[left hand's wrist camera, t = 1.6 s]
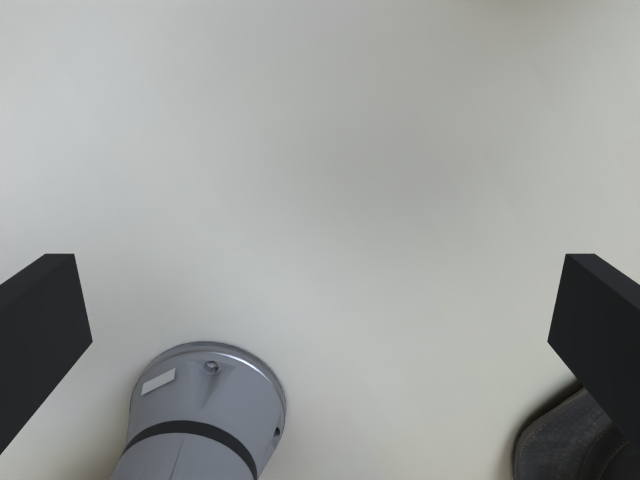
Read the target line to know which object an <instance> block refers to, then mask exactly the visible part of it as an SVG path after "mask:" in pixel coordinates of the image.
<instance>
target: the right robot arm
mask: <svg viewBox="0 0 640 480" xmlns="http://www.w3.org/2000/svg"><path fill="white" fill-rule="evenodd" d="M285 413H286V402H285V396H284V392H283V389H282V387H281V385H280V383H279V381H278V379H277V378H276V376H275V375H274V373H273V372H272V371H271V370H270V369H269V368H268V367H267V366H266V365H265V364H264V363H263V362H262V361H261V360H259V359H258V358H256V357H255V356H253V355H252V354H250V353H248V352H246V351H244V350H242V349H239V348H237V347H234V346H230V345H227V344H222V343H215V342H194V343H188V344H184V345H180V346H177V347H174V348H172V349H170V350H167V351H165V352H164V353H162V354H160V355H159V356H158V357H156V358H155V359H154V360H153V361H152V362H151V363H150V364H149V365H148V366H147V368H146V369H145V370H144V372H143V374H142V375H141V377H140V379H139V380H138V382H137V384H136V386H135V388H134V390H133V393H132V396H131V401H130V417H129V425H128V433H127V442H126V448H125V450H124V451H123V453H122V455H121V457H120V459H119V461H118V463H117V465H116V467H115V469H114V471H113V473H112V475H111V477H110V479H109V480H258V478H259V476H260V475H261V473H262V471H263V469H264V468H265V466H266V464H267V462H268V461H269V459H270V457H271V455H272V454H273V452H274V450H275V448H276V446H277V444H278V442H279V440H280V439H281V436H282V433H283V429H284V423H285Z"/></svg>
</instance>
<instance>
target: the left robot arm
mask: <svg viewBox="0 0 640 480" xmlns="http://www.w3.org/2000/svg"><path fill="white" fill-rule="evenodd" d="M92 342H93V341H92V336H91V331H90V327H89V322H88V317H87V312H86V308H85V303H84V298H83V293H82V289H81V284H80V279H79V274H78V270H77V265H76V260H75V256H74V254H44V255H43V256H41V257H40V258H39V259H37V260H36V261H34V262H33V263H31V264H30V265H28V266H27V267H26V268H24V269H23V270H21V271H20V272H18V273H17V274H15V275H14V276H13V277H11V278H10V279H8V280H7V281H5V282H4V283H2V284H1V285H0V455H1V453H2V452H3V451H4V450H5V449H6V447H7V446H8V445H9V444H10V442H11V441H12V440H13V439H14V438H15V436H16V435H17V434H18V433H19V431H20V430H21V429H22V428H23V426H24V425H25V424H26V423H27V422H28V420H29V419H30V418H31V417H32V415H33V414H34V413H35V412H36V411H37V409H38V408H39V407H40V406H41V404H42V403H43V402H44V401H45V400H46V398H47V397H48V396H49V395H50V393H51V392H52V391H53V390H54V389H55V387H56V386H57V385H58V384H59V382H60V381H61V380H62V379H63V378H64V376H65V375H66V374H67V373H68V371H69V370H70V369H71V368H72V366H73V365H74V364H75V363H76V362H77V360H78V359H79V358H80V357H81V355H82V354H83V353H84V352H85V351H86V349H87V348H88V347H89V346H90V344H91V343H92ZM547 342H548V343H549V344H550V346H551V347H552V348H553V349H554V351H555V352H556V353H557V354H558V355H559V357H560V358H561V359H562V360H563V362H564V363H565V364H566V365H567V366H568V368H569V369H570V370H571V371H572V373H573V374H574V375H575V376H576V378H577V379H578V380H579V381H580V382H581V384H582V385H583V386H584V387H585V389H586V390H587V391H588V392H589V393H590V395H591V396H592V397H593V398H594V400H595V401H596V402H597V403H598V404H599V406H600V407H601V408H602V409H603V411H604V412H605V413H606V414H607V415H608V417H609V418H610V419H611V420H612V422H613V423H614V424H615V425H616V426H617V428H618V429H619V430H620V431H621V433H622V434H623V435H624V436H625V438H626V439H627V440H628V441H629V442H630V444H631V445H632V446H633V447H634V449H635V450H636V451H637V452H638V453H639V455H640V285H639V284H638V283H636V282H635V281H633V280H632V279H630V278H629V277H627V276H626V275H625V274H623V273H622V272H620V271H619V270H617V269H616V268H614V267H613V266H612V265H610V264H609V263H607V262H606V261H604V260H603V259H601V258H600V257H599V256H597V255H596V254H566V256H565V260H564V265H563V270H562V274H561V279H560V284H559V289H558V293H557V298H556V303H555V308H554V312H553V317H552V322H551V327H550V331H549V336H548V341H547Z"/></svg>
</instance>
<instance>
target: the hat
mask: <svg viewBox="0 0 640 480" xmlns="http://www.w3.org/2000/svg"><path fill="white" fill-rule="evenodd" d="M513 473H514V480H640V455H639V453H638V452H637V451H636V450H635V449H634V447H633V446H632V445H631V444H630V442H629V441H628V440H627V439H626V438H625V436H624V435H623V434H622V433H621V431H620V430H619V429H618V428H617V426H616V425H615V424H614V423H613V422H612V420H611V419H610V418H609V417H608V415H607V414H606V413H605V412H604V411H603V409H602V408H601V407H600V406H599V404H598V403H597V402H596V401H595V400H594V398H593V397H592V396H591V395H590V393H589V392H588V391H587V390H586V389H585V387H583V388H582V389H580V390H579V391H578V392H576V393H575V394H574V395H572V396H571V397H569V398H568V399H566V400H565V401H563V402H562V403H560V404H559V405H558V406H556V407H555V408H554V409H552V410H551V411H549V412H548V413H546V414H544V415H542V416H541V417H539V418H538V419H536V420H535V421H534V422H532V423H531V424H530V425H529V426H528V427H527V428H526V429H525V430H524V431H523V432H522V433H521V435H520V437H519V439H518V441H517V444H516V447H515V451H514V459H513Z"/></svg>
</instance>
